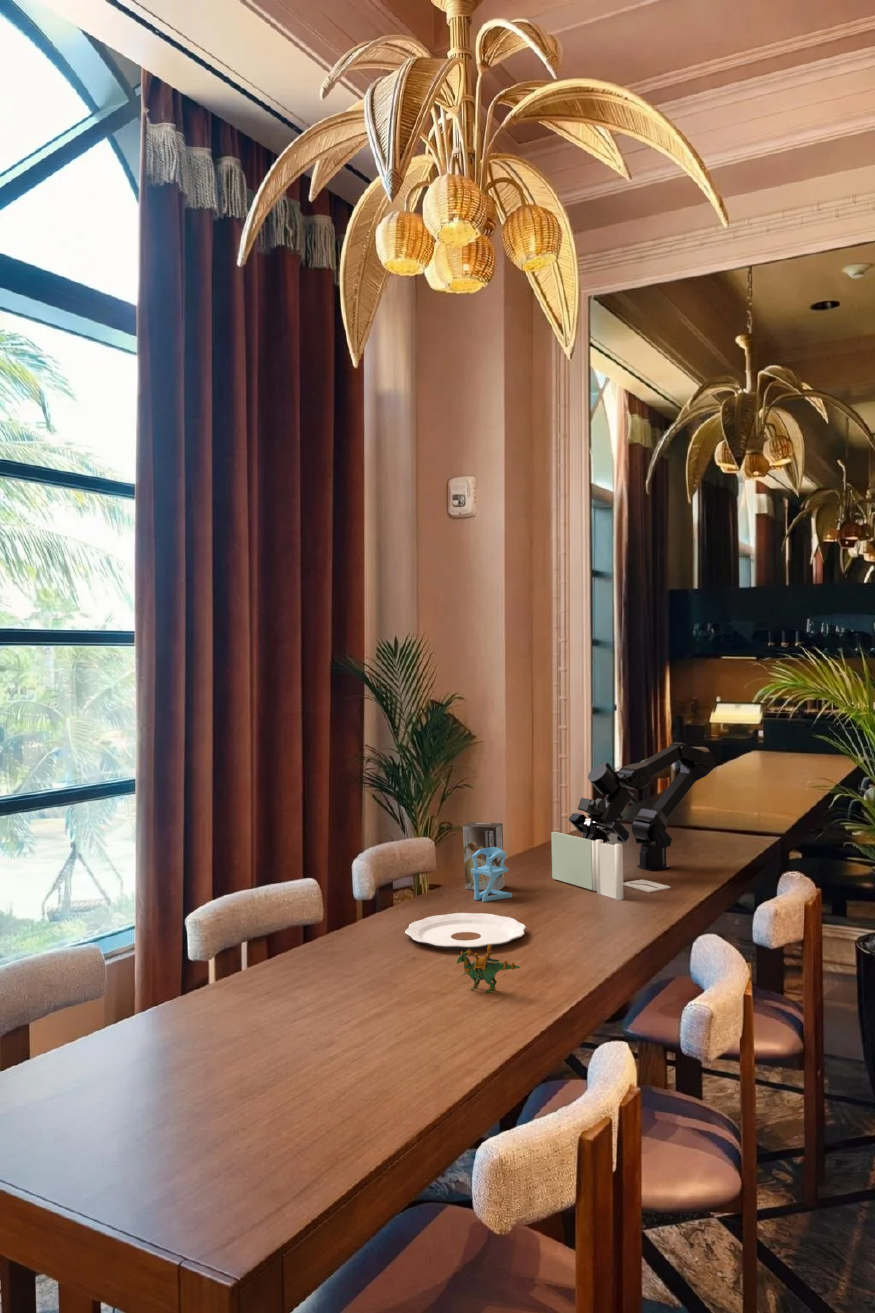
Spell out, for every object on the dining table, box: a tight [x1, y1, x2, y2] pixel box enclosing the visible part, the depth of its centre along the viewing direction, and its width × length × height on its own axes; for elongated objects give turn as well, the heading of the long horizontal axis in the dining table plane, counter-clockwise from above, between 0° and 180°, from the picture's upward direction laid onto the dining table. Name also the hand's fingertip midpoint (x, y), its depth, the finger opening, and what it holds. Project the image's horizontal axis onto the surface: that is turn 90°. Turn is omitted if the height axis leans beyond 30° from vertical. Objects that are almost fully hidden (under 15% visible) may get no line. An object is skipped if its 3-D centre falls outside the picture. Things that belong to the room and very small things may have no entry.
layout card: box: [623, 878, 671, 893], centre depth 247 cm, size 10×7×1 cm
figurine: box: [456, 945, 521, 994], centre depth 173 cm, size 3×12×8 cm, turn 67°
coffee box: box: [462, 821, 505, 891], centre depth 250 cm, size 9×6×16 cm
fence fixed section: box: [596, 839, 624, 901], centre depth 238 cm, size 9×2×13 cm, turn 31°
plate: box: [404, 912, 527, 951], centre depth 207 cm, size 25×25×2 cm
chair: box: [471, 847, 513, 903], centre depth 239 cm, size 8×8×12 cm
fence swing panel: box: [550, 831, 597, 892], centre depth 250 cm, size 17×1×12 cm, turn 31°
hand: (581, 852), depth 256 cm, fingers closed
